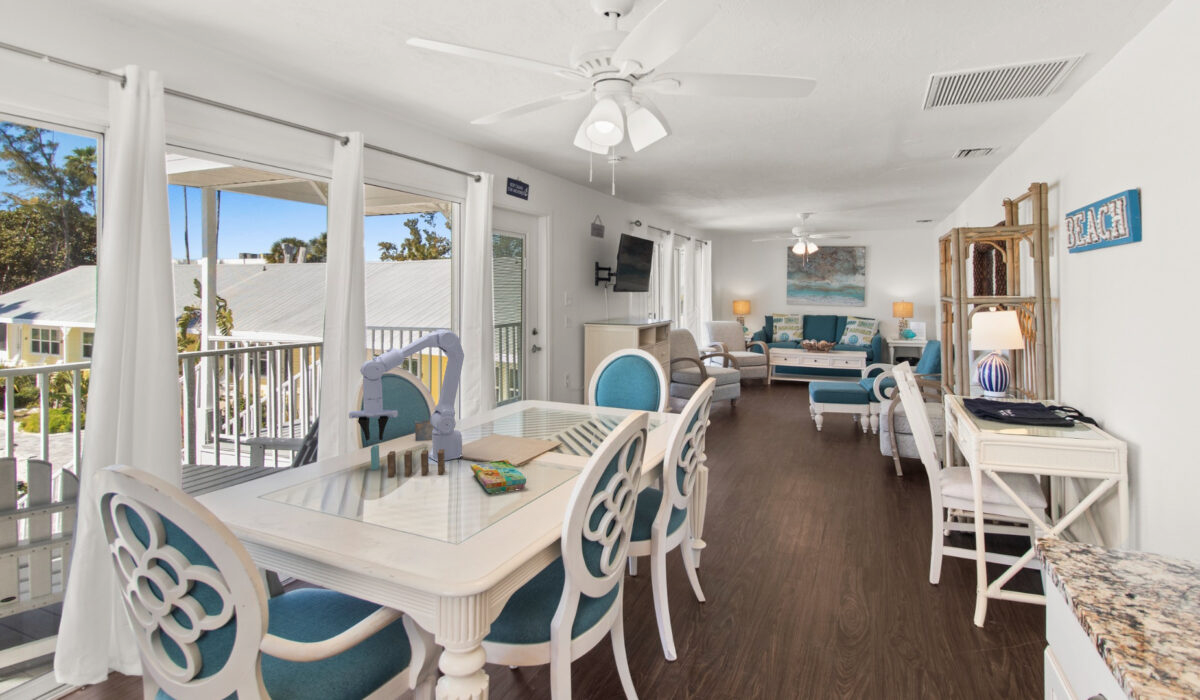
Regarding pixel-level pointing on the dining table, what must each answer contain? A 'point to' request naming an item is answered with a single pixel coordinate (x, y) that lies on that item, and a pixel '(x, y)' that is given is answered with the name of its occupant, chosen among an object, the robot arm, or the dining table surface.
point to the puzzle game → (498, 476)
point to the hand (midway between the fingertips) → (374, 439)
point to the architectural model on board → (423, 431)
